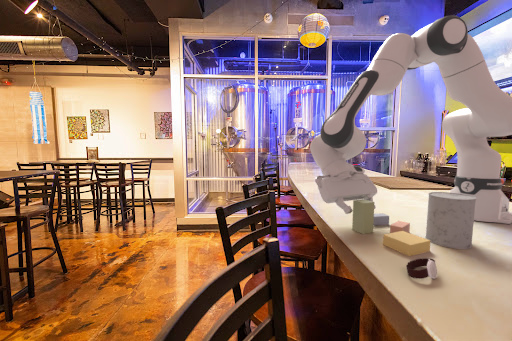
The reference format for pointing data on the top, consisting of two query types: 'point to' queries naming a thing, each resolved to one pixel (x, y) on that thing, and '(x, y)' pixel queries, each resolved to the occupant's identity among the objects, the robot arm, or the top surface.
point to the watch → (424, 273)
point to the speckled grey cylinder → (450, 219)
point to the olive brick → (363, 216)
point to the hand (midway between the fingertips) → (361, 211)
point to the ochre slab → (406, 243)
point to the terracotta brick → (399, 227)
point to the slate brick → (381, 219)
